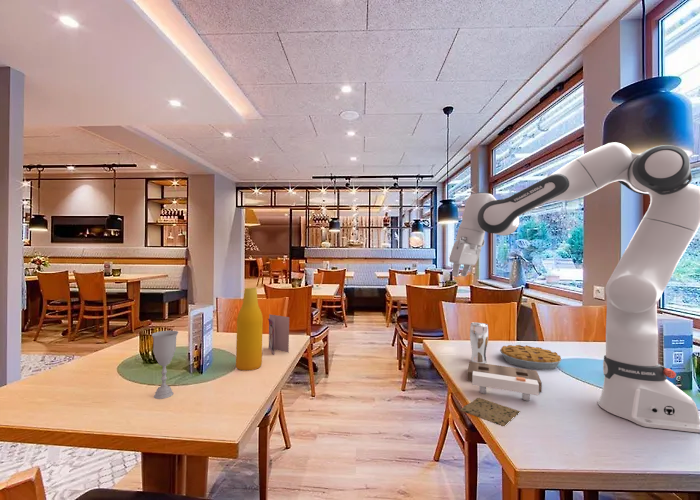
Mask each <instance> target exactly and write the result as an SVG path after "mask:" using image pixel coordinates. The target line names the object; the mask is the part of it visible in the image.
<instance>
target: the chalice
mask: <svg viewBox="0 0 700 500" xmlns="http://www.w3.org/2000/svg"><path fill="white" fill-rule="evenodd" d="M178 334H179V331H178V330H160V331H156V332H153V333H152V334H151V336H152V338H153V350H152V352H153V354H154V357H155V360H156V361H157V363H158V365H159V366H161V367H162V371H160V373H161V374H162V377H161V378H160V380H161V385H160V386H158V387H157V388H156V391H155V392H154V395H153V398H154V399H157V400H161V399H167V398H169V397H171V396H173V395H174V392H173V389H172V387H171V386H170V385H167V383H166V381H167V379H168V377H167V373H168V370H167V365H170V364H171V362H172V360H173V358H174V355H175V352H176V350H177V336H178Z"/></svg>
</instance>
